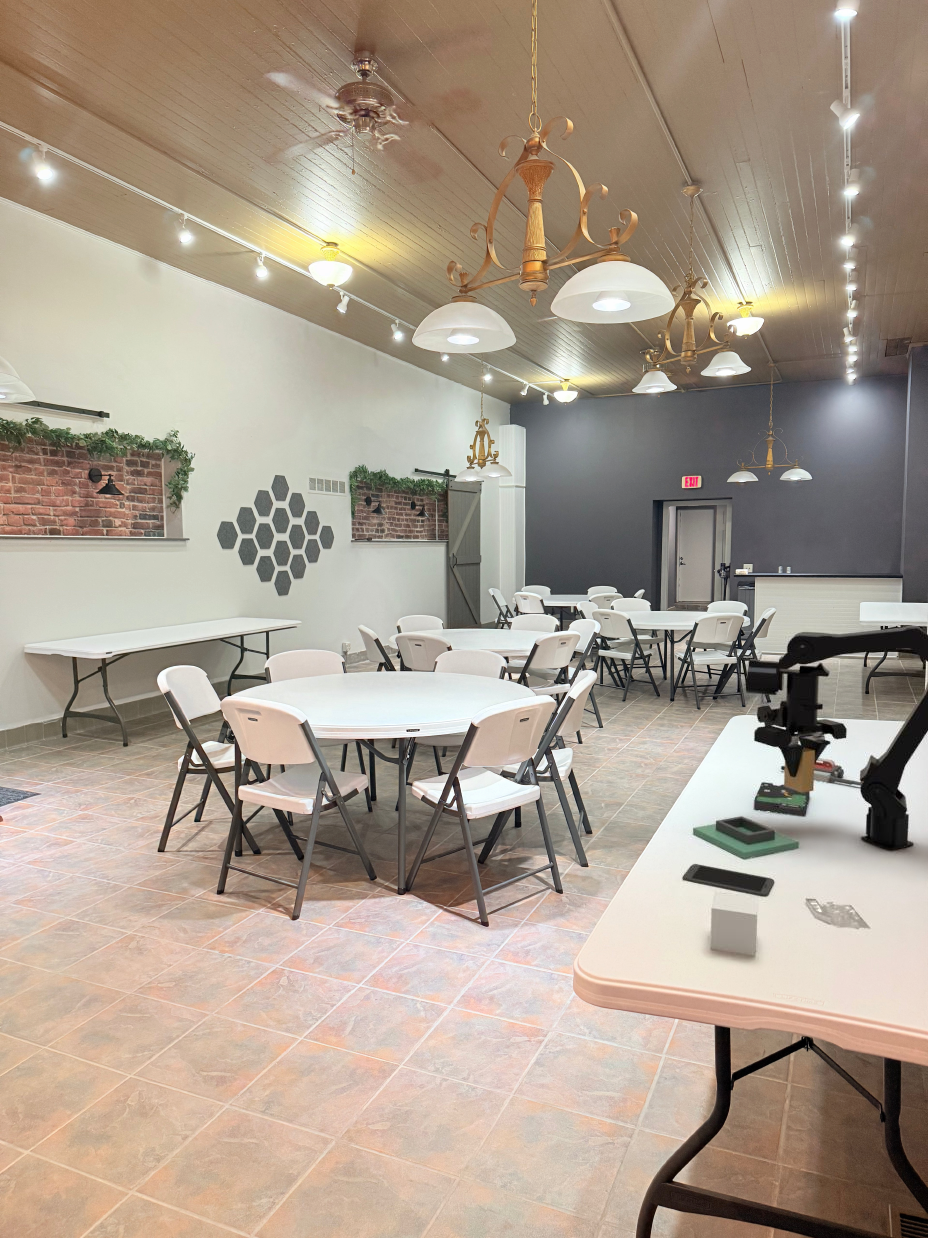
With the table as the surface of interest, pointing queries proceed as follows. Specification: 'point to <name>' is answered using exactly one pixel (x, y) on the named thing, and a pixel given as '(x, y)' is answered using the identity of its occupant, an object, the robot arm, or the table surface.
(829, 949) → the table surface
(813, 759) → the plug
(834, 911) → the stamped metal plate
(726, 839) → the board
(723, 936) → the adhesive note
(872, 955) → the table surface
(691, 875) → the cell phone
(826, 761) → the red and grey actuator
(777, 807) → the disk drive
